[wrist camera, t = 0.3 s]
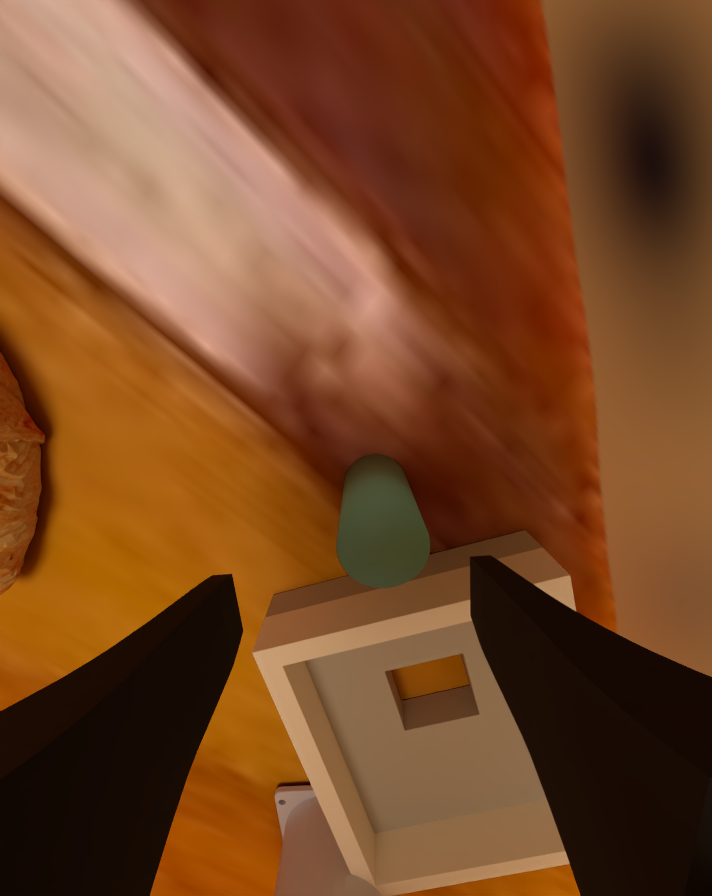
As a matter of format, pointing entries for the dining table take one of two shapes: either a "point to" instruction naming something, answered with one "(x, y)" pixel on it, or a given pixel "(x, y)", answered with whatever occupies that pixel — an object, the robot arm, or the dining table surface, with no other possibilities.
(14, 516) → the croissant
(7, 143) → the dining table surface
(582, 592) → the dining table surface
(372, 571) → the peg
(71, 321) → the dining table surface
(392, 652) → the bore tray
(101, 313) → the dining table surface
